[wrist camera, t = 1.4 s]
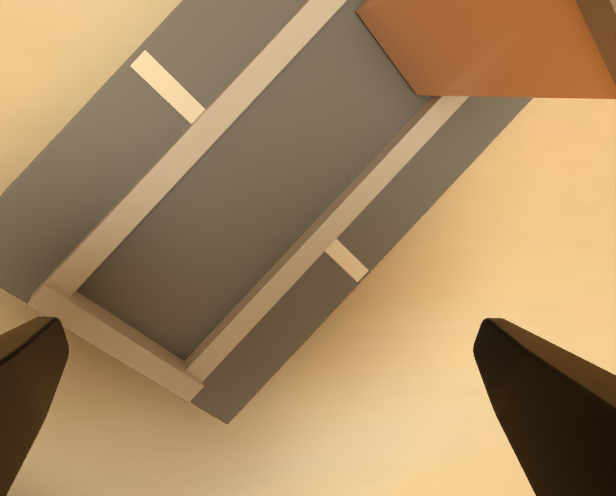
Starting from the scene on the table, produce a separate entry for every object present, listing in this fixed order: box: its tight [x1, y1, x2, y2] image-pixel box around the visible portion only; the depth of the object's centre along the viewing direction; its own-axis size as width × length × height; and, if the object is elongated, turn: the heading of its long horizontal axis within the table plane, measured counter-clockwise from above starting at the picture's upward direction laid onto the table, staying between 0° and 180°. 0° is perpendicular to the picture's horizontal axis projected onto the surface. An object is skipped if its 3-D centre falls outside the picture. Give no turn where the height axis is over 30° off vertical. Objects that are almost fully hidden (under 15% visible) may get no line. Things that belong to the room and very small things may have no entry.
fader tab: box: [356, 0, 616, 99], centre depth 15 cm, size 3×5×11 cm
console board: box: [0, 0, 533, 424], centre depth 20 cm, size 24×14×2 cm, turn 134°
